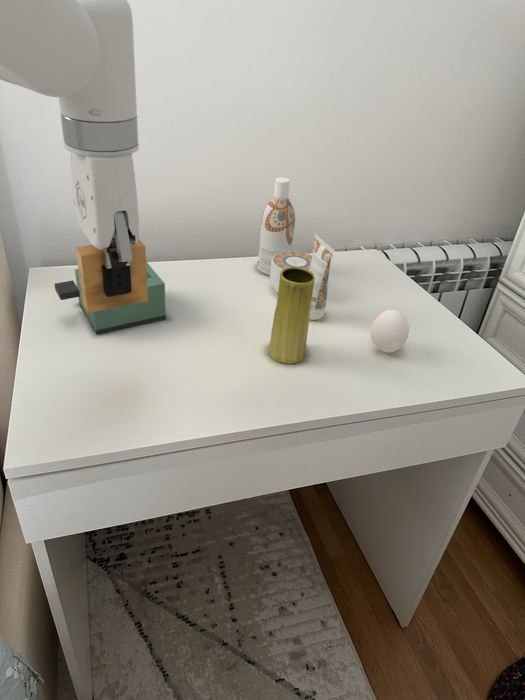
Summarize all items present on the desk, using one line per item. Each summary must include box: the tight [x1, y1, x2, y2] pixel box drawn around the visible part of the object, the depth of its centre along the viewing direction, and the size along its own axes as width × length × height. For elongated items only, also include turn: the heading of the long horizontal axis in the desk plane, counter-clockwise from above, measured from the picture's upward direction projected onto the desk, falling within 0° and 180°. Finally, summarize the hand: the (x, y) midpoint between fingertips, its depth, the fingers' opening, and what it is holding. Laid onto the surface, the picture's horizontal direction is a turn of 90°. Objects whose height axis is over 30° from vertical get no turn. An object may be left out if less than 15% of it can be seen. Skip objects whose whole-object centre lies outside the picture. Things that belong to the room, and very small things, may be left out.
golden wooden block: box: [75, 238, 148, 313], centre depth 65 cm, size 8×2×8 cm, turn 120°
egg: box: [370, 309, 410, 353], centre depth 88 cm, size 6×6×8 cm
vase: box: [267, 267, 315, 365], centre depth 83 cm, size 6×6×14 cm
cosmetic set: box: [257, 176, 334, 321], centre depth 98 cm, size 25×9×19 cm, turn 22°
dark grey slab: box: [53, 280, 80, 301], centre depth 85 cm, size 3×4×1 cm
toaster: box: [74, 261, 167, 335], centre depth 91 cm, size 12×10×7 cm
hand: (114, 286), depth 66 cm, fingers closed on golden wooden block, 2 cm apart
